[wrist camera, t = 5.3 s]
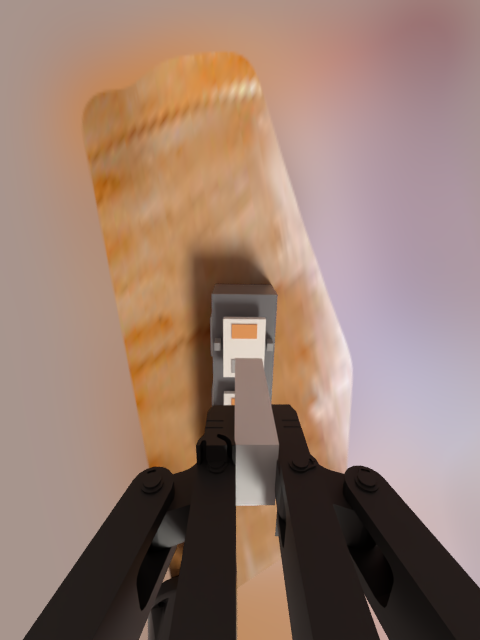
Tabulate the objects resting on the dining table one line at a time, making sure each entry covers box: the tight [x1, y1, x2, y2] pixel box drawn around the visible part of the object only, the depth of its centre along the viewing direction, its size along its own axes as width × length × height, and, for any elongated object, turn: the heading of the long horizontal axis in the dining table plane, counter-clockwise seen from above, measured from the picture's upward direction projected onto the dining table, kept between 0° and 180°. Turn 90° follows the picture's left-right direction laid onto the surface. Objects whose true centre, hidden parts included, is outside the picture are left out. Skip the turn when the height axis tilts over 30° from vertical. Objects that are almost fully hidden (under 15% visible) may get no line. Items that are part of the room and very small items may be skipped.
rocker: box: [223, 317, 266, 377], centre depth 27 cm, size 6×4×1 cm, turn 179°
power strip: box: [210, 284, 277, 406], centre depth 33 cm, size 27×7×6 cm, turn 179°
